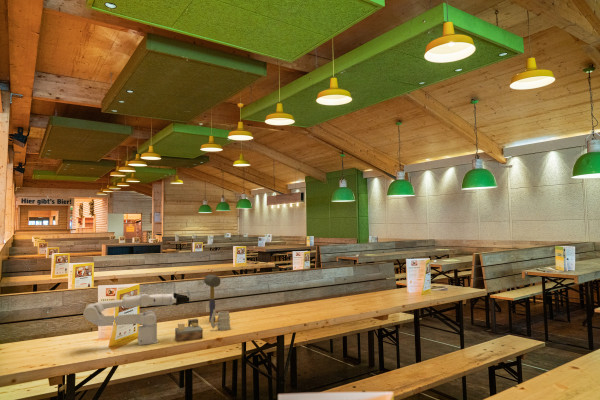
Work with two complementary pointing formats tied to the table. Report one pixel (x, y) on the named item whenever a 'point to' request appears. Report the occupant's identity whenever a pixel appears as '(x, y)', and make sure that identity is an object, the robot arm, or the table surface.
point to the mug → (221, 320)
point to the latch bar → (194, 323)
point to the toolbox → (189, 334)
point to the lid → (187, 328)
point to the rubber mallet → (212, 291)
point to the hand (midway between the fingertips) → (188, 298)
